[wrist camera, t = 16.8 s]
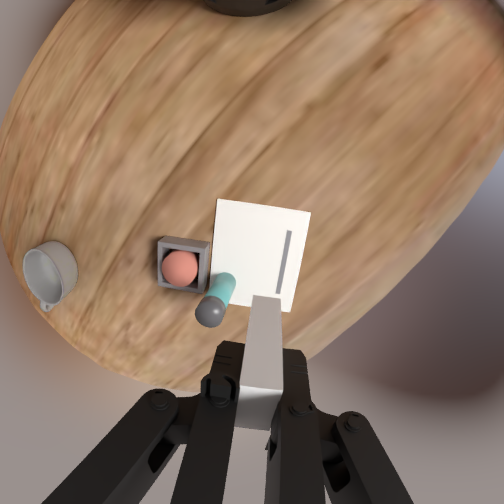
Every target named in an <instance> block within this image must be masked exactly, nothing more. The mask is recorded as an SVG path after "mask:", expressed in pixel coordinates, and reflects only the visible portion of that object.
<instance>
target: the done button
mask: <svg viewBox="0 0 504 504" xmlns="http://www.w3.org/2000/svg"><path fill="white" fill-rule="evenodd" d="M199 260H200V257H199V255H198V253H197V252H191V251H185V250H179V249H174V250H173V251H172V252H171V253H170V254H169V255H168V256H167V257H166V258H165V259H164V261H163V263H162V273H163V275H164V277H165V279H166V280H167V281H168V282H169V283H171V284H172V285H174V286H178V287H184V286H187V285H189V284H190V283H191V282H192V281H193V280H194V278H195V276H196V275H197V273H198V272H199Z"/></svg>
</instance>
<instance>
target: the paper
mask: <svg viewBox="0 0 504 504" xmlns="http://www.w3.org/2000/svg"><path fill="white" fill-rule="evenodd" d="M310 215H311V212H305V211H299V210H293V209H287V208H281V207H274V206H268V205H261V204H254V203H247V202H240V201H232V200H225V199H217V209H216V218H215V228H214V239H213V250H212V262H211V274H210V287H211V285H212V284H213V282H214V280H215V279H216V277H217V276H218V275H219V274H220V273H223V272H226V273H230V274H231V275H233V276H234V278H235V280H236V286H235V289H234V291H233V293H232V296H231V298H230V300H229V303H230V304H236V305H242V306H249V307H251V305H252V298H253V295H258V296H265V297H272V298H279V299H281V311H284V312H290V310H291V306H292V301H293V297H294V293H295V288H296V284H297V279H298V275H299V270H300V265H301V260H302V256H303V251H304V246H305V241H306V236H307V231H308V225H309V220H310ZM210 287H209V288H210Z"/></svg>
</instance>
